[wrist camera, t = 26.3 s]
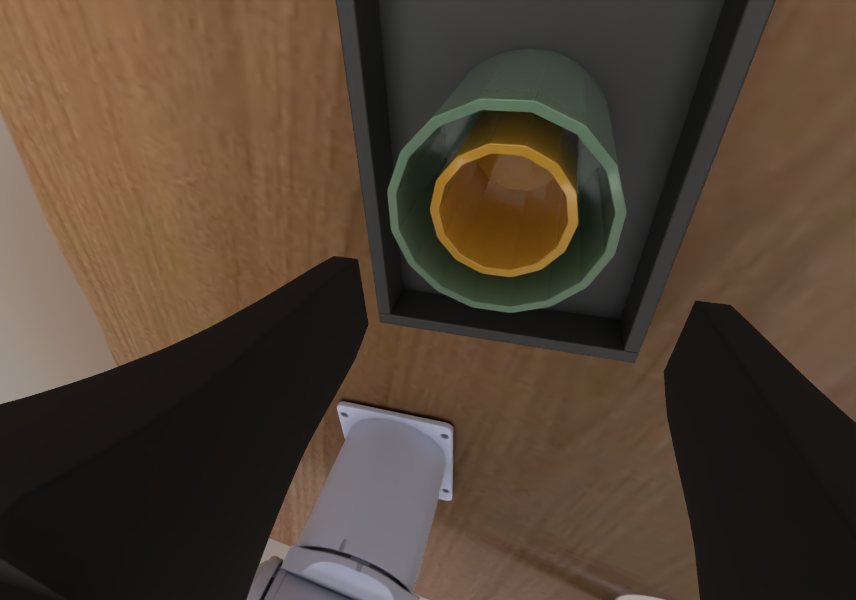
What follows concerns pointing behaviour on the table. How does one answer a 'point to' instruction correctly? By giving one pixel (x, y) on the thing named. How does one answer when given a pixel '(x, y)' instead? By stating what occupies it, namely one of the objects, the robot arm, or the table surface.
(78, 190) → the table surface
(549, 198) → the mustard cup
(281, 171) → the table surface
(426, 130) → the green cup
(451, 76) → the tray
